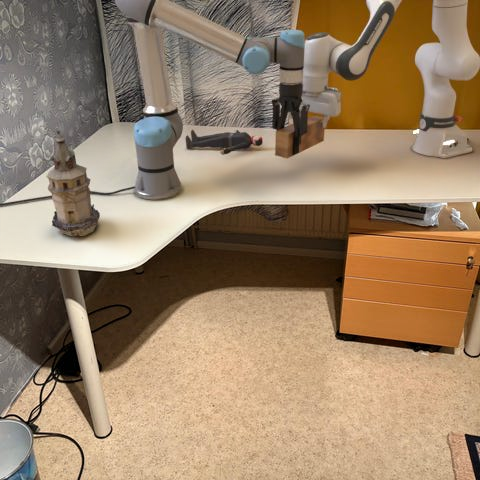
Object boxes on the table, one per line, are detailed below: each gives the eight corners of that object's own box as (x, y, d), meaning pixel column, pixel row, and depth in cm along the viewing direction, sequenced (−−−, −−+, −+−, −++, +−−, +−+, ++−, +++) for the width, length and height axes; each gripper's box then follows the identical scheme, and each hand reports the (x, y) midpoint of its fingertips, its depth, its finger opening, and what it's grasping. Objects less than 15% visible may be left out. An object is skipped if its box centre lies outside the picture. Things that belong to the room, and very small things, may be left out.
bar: (287, 158, 177) (288, 134, 173) (275, 155, 180) (275, 131, 176) (323, 140, 192) (325, 117, 188) (311, 138, 195) (313, 115, 191)
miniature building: (80, 214, 164) (63, 117, 149) (111, 225, 157) (96, 125, 142) (44, 231, 154) (22, 130, 140) (75, 244, 147) (55, 139, 133)
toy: (197, 123, 225) (267, 123, 219) (198, 137, 228) (268, 138, 222) (178, 143, 203) (256, 144, 197) (180, 159, 206) (257, 160, 200)
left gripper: (321, 84, 167) (317, 154, 179) (275, 76, 178) (273, 143, 189) (308, 88, 162) (304, 161, 174) (261, 80, 173) (260, 149, 184)
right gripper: (346, 87, 177) (342, 128, 184) (295, 78, 189) (293, 117, 195) (336, 90, 173) (332, 132, 180) (284, 81, 184) (283, 121, 191)
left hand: (288, 151), depth 181 cm, fingers closed on bar, 5 cm apart
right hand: (311, 124), depth 188 cm, fingers open, 8 cm apart
